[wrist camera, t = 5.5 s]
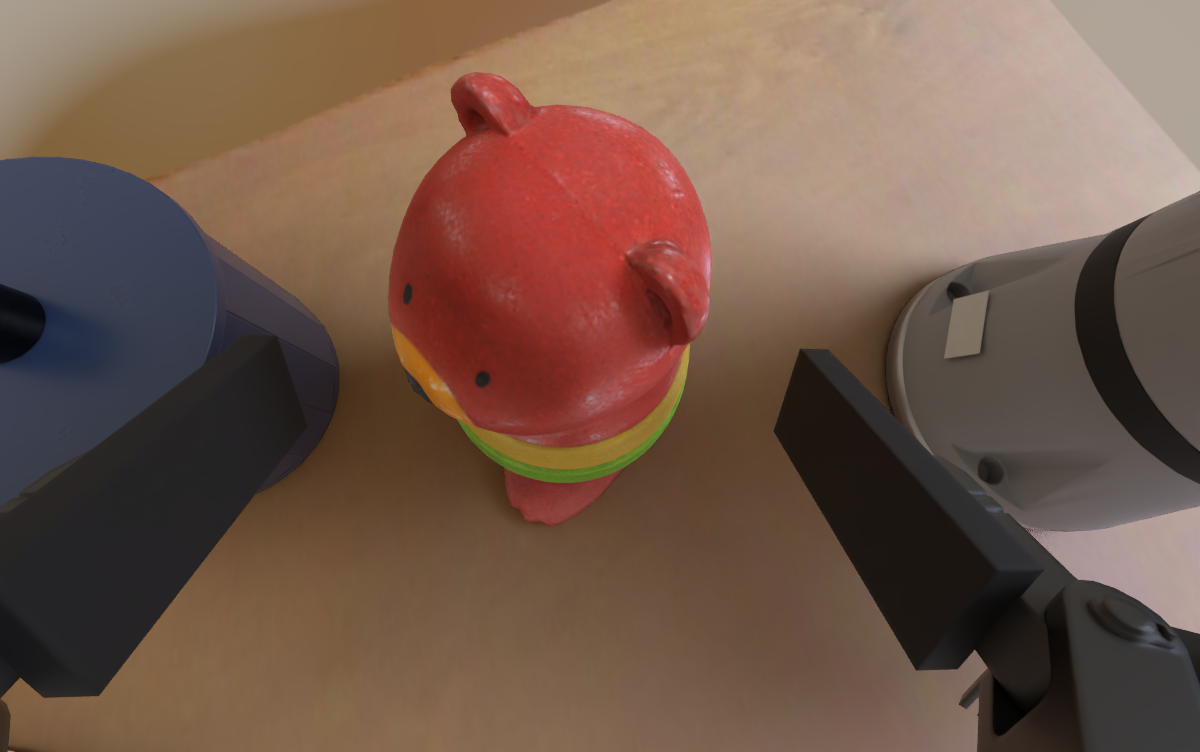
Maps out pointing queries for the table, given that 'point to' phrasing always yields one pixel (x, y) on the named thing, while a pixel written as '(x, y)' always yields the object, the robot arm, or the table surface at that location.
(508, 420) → the stacking bear
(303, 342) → the pot
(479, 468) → the table surface
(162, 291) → the pot lid
